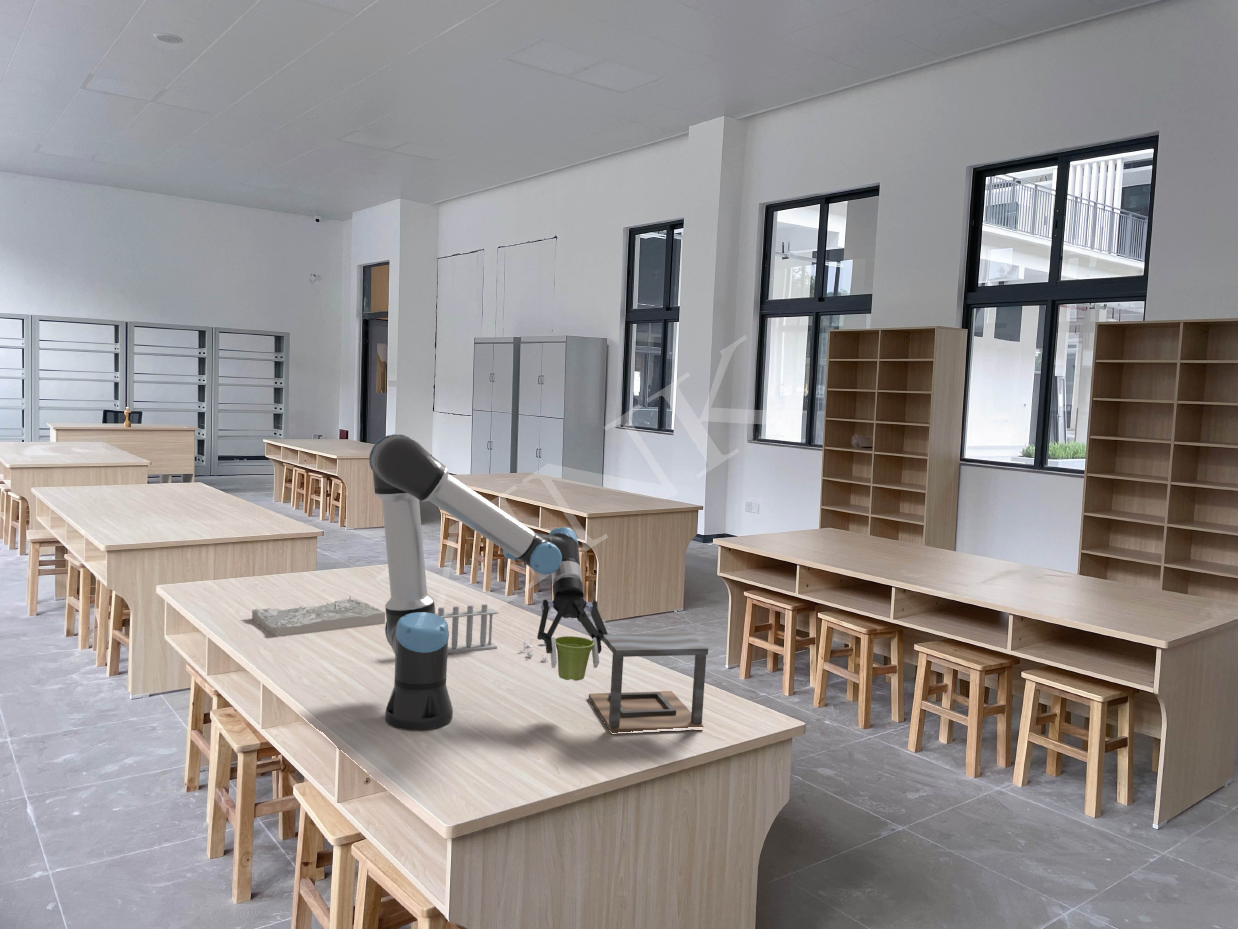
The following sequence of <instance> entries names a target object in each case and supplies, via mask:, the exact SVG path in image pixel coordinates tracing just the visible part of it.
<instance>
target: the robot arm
mask: <svg viewBox="0 0 1238 929" xmlns="http://www.w3.org/2000/svg"><path fill="white" fill-rule="evenodd" d="M368 459H369V460H368V463H369V467H370V470H371V471H372V478H373V479H372V480H373V487H374V488H373V489H374V495H376V497H378V498H379V499H380V500H381V502H382V503H381V504H382V513H383V514H382V516H383V524H384V525H383V526H384V536H385V546H386V547H385V550H386V557H387V558H386V559H387V569H388V570H387V571H388V580H389V589H390V598H389V600H388V601H386V603H385V605H384V607H385V626H384V632H385V637H386V638H385V639H386V641H387V642H388V643H389V644H388V645H390V647H391V648H392V651H393V654H394V655H395V656H394V658H395V659H394V660H395V661H394V684H393V689H392V691H391V695H390V697H389V699H388V702H387V705H386V708H385V715H384V716H385V717H384V720H385V723H386V724H388V725H389V726H391V727H393V728H396V729H400V730H407V731H424V730H425V731H426V730H434V729H439V728H442V727H443V726H446V725H448V724H449V723H450V722H451V721H452V720H453V712H454V710H453V705H452V702H451V698H450V695H449V691H448V686H447V674H448V673H447V671H448V668H447V667H448V654H447V651H448V647H449V645H448V644H449V637H450V631H449V624H448V622H447V620H446V618H443V617H441V616H439V615H435V614H436V607H435V598H434V597H432V596H431V595H429V594H428V589H427V588H428V587H427V576H426V567H425V566H426V564H425V554H424V542H423V532H422V531H423V530H422V518H421V506H420V502H422V503H425V502H427V501H428V502H430V503H432V504H433V505H435V506H436V507H438V508H440V509H441V510H442V511H444V512H446V513H447V514H449V515H450V516H452V517H453V518H455V519H456V520H457V521H459V522H461V523H462V524H463V525H465V526H467V527H469V528H470V529H471V530H473V531H474V532H476V533H478V534H480V535H481V536H482V537H484V538H485V539H487V540H488V541H489V542H491V543H493V544H494V545H496V546H497V547H499V548H500V549H502V553H503V556H504V557H505V559H508V560H513V561H515V562H516V561H520V562H522V563H523V564H525V565H526V566H528V567H529V568H531V569H532V571H534V572H536V573H537V574H541V575H545V576H546V575H551V583H552V595H553V596H552V597H553V600H549V601H548V599H543V600H542V603H541V606H540V607H541V613H542V614H541V617H540V621H539V628H538V632H537V640H540V641H541V640H542V641H543V644H544V643H545V644H546V645H545V652H546V654H550V663H551V669H555V668H556V667H557V664H558V657H557V648H556V644H555V639H556V637H554V636H553V635H554V634H555V631H556V629H557V627H558V625H559V624H560V622H561V620H562V618H563V619H569V618H570V619H576V620H577V621H578V622H580V624H581V626H582V627H583V628H584V630H585V632H587V634H588V635H589V636H590V638H591V641H593V642H594V645H593V646H592V649H591V654H592V657H591V658H592V664H593V669H597V668H598V666H599V664H600V656H599V654H601V652H602V642H601V641H603V635H608V631H607V628H606V626H605V623H604V622H603V619H602V616H601V613H600V611H599V609H598V608H599V607H598V601H597V600H593V601H592V602H591V601H590V602H589V601H587V600H586V598H585V594H584V585H583V576H582V568H581V561H580V551H579V550H580V548H579V541H578V537H577V534H576V532H575V531H574V530H573V529H572V528H570V527H566V526H563V527H556V528H554V529H552V530H551V531H550V532H549V534H544V533H537V532H535V531H534V530H533V529H531V528H529V526H527V525H525V524H524V523H522V522H520V521H519V520H518V519H516V518H515V517H514V516H512V515H511V514H509V513H507V512H506V511H504V510H503V509H501V508H500V507H498V506H497V505H496V504H494V502H492V501H491V500H488V499H487V498H486V497H483V495H481V494H480V493H478V492H476V491H475V490H473V488H471V487H470V486H467V485H466V484H465V483H463V482H462V481H460V480H459V479H457V478H456V477H454V476H453V475H452V474H450V473H449V471H448V467H447V466H446V465H445V464H443V463H442V462H441V461H439V460H438V459H436V458H435V456H433V455H432V454H430V452H429V451H427V450H426V449H425V448H424V447H423V446H422V445H421V444H420V443H419V442H417V441H416V440H415V439H412V438H410V437H409V436H406V435H404V434H395V433H393V434H389V435H386V436H383V437H382V438H380V439H379V440H377V442H376V443H375V444H374V445H373V446H372V448H371V450H370V453H369V456H368ZM552 608H553V609H554V610H555V611H556V615H555V617H554V619H553V621H552V623H551V625H550V627H549V629H548V631H547V632H546V631H545V629H546V625H547V620H548V615H549V611H551V609H552ZM585 608H587V610H588V612H590V615H591V619H592V620H591V619H590V618H589V616H588V615H587V612H586V610H585ZM592 621H593V622H592Z"/></svg>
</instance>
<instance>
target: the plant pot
mask: <svg viewBox="0 0 1238 929" xmlns="http://www.w3.org/2000/svg"><path fill="white" fill-rule="evenodd" d="M593 645H594V642H593V641H592V639H589V638H585V637H583V636H582V637H581V636H572V635H571V636H568V635H567V636H559V637H555V646H556V655H557V667H558V668H557V670H558V671H557V673H558V677H559V678H560V679H562V680H565V681H570V680H573V681H574V682H576V681H577V682H578V681H582V680H584V678H585V676H586V671H587V666H588V662H589V658H590V655H591V653H592V646H593Z"/></svg>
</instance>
